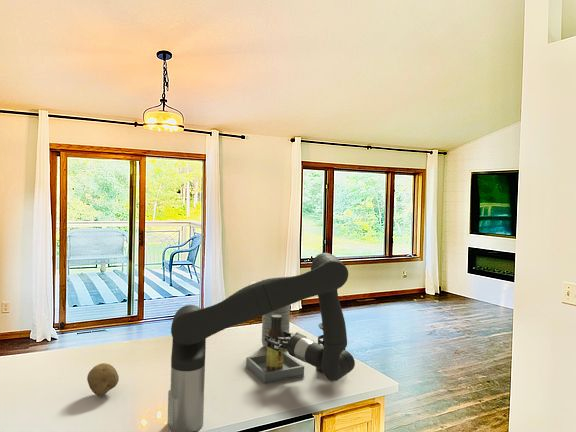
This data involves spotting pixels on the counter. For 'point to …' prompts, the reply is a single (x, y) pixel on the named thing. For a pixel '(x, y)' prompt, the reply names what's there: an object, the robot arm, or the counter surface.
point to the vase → (267, 322)
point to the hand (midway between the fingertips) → (274, 335)
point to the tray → (287, 372)
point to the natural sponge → (102, 379)
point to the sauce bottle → (274, 356)
